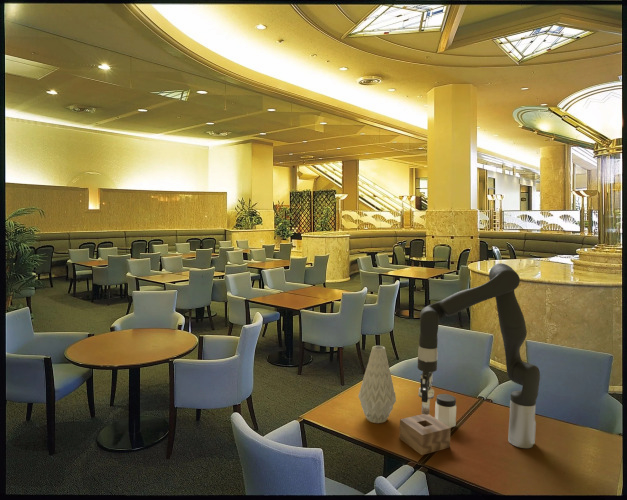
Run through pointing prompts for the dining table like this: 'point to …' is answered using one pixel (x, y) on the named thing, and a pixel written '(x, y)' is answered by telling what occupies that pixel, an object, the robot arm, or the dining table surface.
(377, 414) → the vase
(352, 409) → the dining table surface
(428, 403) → the pin
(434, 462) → the dining table surface
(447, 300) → the robot arm
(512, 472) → the dining table surface
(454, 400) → the jar
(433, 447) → the pin block
